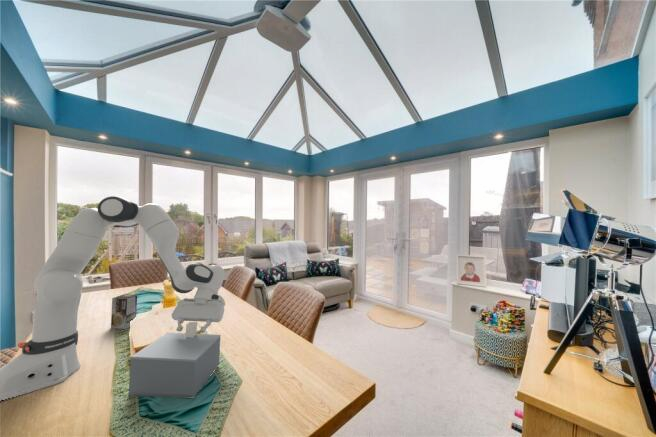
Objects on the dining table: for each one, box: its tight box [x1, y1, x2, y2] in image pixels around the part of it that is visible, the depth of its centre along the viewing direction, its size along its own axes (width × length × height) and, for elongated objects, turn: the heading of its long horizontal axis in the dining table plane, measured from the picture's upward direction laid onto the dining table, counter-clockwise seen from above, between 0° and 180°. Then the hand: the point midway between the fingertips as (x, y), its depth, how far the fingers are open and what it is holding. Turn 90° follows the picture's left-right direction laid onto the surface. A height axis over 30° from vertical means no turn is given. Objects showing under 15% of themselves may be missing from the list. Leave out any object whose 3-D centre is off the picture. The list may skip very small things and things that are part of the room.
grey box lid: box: [130, 321, 221, 362], centre depth 89 cm, size 18×22×6 cm
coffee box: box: [110, 294, 138, 330], centre depth 130 cm, size 9×6×16 cm
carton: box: [128, 337, 221, 399], centre depth 89 cm, size 18×22×12 cm
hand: (190, 331), depth 95 cm, fingers open, 8 cm apart
